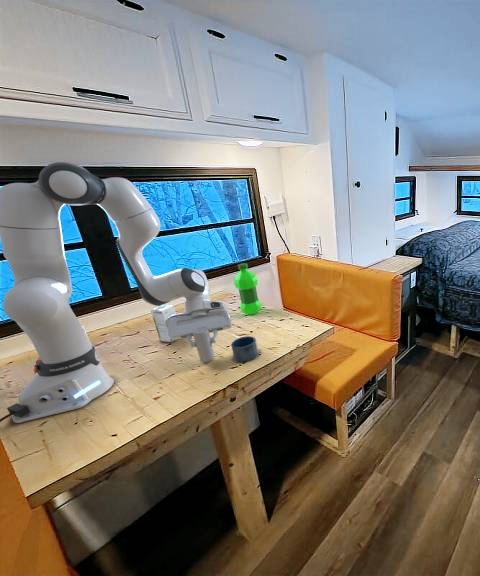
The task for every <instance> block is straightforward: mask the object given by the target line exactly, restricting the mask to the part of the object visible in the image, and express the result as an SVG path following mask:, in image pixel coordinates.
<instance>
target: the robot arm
mask: <svg viewBox="0 0 480 576" xmlns="http://www.w3.org/2000/svg"><path fill="white" fill-rule="evenodd" d="M65 205H67V206H88V205H97V206H99V207H100V208H101V209H102V210H103V211H104V212H105V213H106V215H107V216H108V217H109V219H110V220H111V221H112V222H113V224H114V225H115V227H116V230H117V232H118V237H117V239H116V246H117V249H118V251H119V253H120V255H121V258H122V259H123V261H124V263H125V265H126V267H127V269H128V270H129V272H130V274H131V276H132V278H133V279H134V281H135V283H136V285H137V288H138V291H139V294H140V296H141V298H142V300H143V301H144V302H145V303H148V304H150V305H152V306H156V307H159V306H161V305H166V304H167V303H170V302H172V301H175V300H178V299H181V298H184V304H183V305H184V311H185V312H181V313H176V315H171V316H170V317H169V318H168V319H167V325H168V326H169V327H168V336H169V338H170V339H172V340H174V341H177V340H181V339H186V340H187V341H188V343H190V348H192V349H193V348H197V347H196V343H195V340H194V341H193V337H194V336H193V331H194V330H196V329H198V328H203V327H205V328H207V329H208V331H209V334H211V333H212V334H213V335H212V337H210V340H211V344H212V345H213V344H217V341H216V339H217V337H218V335H219V331H220V332H221V331H224V330H231V329H232V328H233V322H232V317H231V315H230V313H229V311H228V309H227V308H226V305H225V303H224V302H223V301H214V300H212V298H211V297H210V294H211V290H210V284H209V281H208V278H207V276H206V273H205V272H204V271H203V270H201V269H197V268H189V267H182V268H179V269H175V270H172V271H170V272H167V273H166V272H165V273H164V274H160V275H154V274H153V273H152V271H151V269H150V267H149V266H148V264H147V262H146V259H145V258H144V256H143V250H144V249H145V248H146V246H147V245H148V244H149V243H151V242H152V241H153V240H154V239H155V238H156V237H157V236H158V235H159V233H160V231H161V226H162V225H161V220H160V218H159V216H158V215H157V213H156V211H155V209H154V208H153V207H152V205H151V204H150V202H149V201H148V200H147V198H146V197H145V196H144V195H143V194H142V192H141V191H140V190H139V188H137V186H136V185H134V184H133V183H132V182H131V181H130V180H128V179H127V178H124V177H119V176H118V177H117V176H116V177H115V176H114V177H107V178H100V177H98V176H97V175H95V174H92V173H91V172H90V171H89V170H87V169H86V168H84V167H83V166H81V165H79V164H77V163H73V162H69V161H56V162H51V163H50V164H47V165H46V166H45V167H43V168H42V169H41V170H40V172H39V175H38V180H36V181H35V182H31V183H30V182H13V183H8V184H4V185H3V186H1V187H0V243H1V247H2V252H3V253H2V254H3V257H4V258H5V260H6V261H7V263H8V265H9V268H10V270H11V272H12V276H13V280H14V284H13V287H12V288H10V289H9V290H8V291H7V292H6V293H5V295H4V297H3V301H2V302H3V304H2V305H3V306H2V308H3V312H4V313H5V315H6V316H7V317H8V318H9V319H10V320H13V321H14V322H15V323H16V324H17V326H19V328H20V329H21V330H22V331H23V332H24V334H25V335H26V336H27V337H28V338H29V340H30V341H31V344H32V345H33V347H34V349H35V351H36V353H37V355H38V356H39V357H38V358H37V359H36V361H35V364H34V368H33V373H34V374H35V376H34V377H33V378H32V379H31V380H30V381H29V382H28V383H27V384H26V385H25V386H24V387H23V388H22V390H21V391H20V393H19V396H18V403H17V402H16V403H14V404H12V405H10V406H7V407H6V410H7V411H8V414H6V415H5V416H3V417H1V418H0V423H1V422H3V421H4V420H6V419H9V418H10V417H11V419H12V421H13V422H14V423H15V424H21V423H25V422H29V421H33V420H38V419H41V418H45V417H50V416H53V415H57V414H61V413H65V412H70V411H74V410H78V409H81V408H83V407H84V406H87V404H89V403H90V402H91V401H92V400H94V399H96V398H98V397H100V396H101V395H103V394H105V393H106V392H107V391H109V389H111V388H112V386H113V385H114V383H115V380H114V378H112V376H111V375H110V374H109V373H108V372H107V371H106V369H105V368H104V367H103V365H102V364H101V359H100V355H99V353H98V350H97V349H96V347H95V346H94V345H93V344H92V343H91V340H90V338H89V336H88V334H87V331H86V328H85V326H84V324H83V323H82V322H81V321H80V320H79V318H78V317H77V316H76V314H75V313H74V311H73V309H72V308H71V306H70V302H69V301H70V298H71V296H72V294H73V287H72V286H73V285H72V280H71V275H70V271H69V265H68V263H67V260H66V259H67V258H66V255H65V247H64V239H63V231H62V223H61V210H62V208H63V207H64V206H65Z"/></svg>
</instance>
